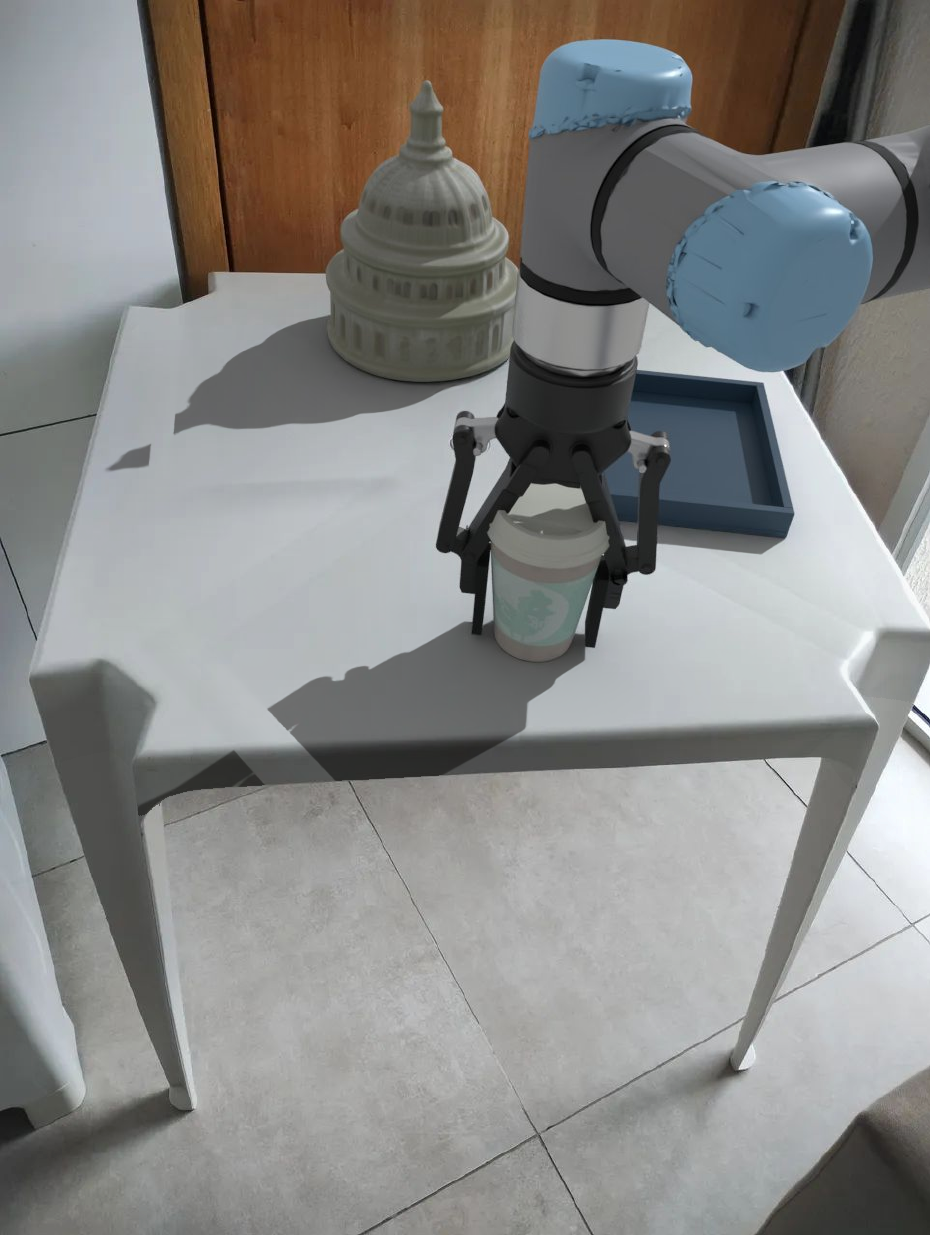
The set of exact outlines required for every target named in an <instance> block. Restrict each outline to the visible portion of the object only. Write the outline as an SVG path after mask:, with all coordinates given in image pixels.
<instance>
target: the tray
mask: <svg viewBox="0 0 930 1235" xmlns="http://www.w3.org/2000/svg"><path fill="white" fill-rule="evenodd" d="M766 391H767V390H766V387H765V383H764V382H763V381H750V380H741V379H731V378H721V377H713V376H712V377H711V376H701V375H692V374H683V373H675V372H673V373H671V372H664V371H653V370H643V369H637V371H636V376H635V381H634V386H633V391H632V396H631V402H630V407H629V412H628V417H627V419H628V422H629V424H630V427H631V431H634V432H638V433H641V434H645V435H648V436H651V435H652V434H653V433H654V432H656V431H664V432H666V433H667V434H668V436H669V444H670V455H671V461H670V464H669V466H668V468H667V470H666V472H665V474H664V476H663V478H662V480H661V482H660V490H659V510H658V525H659V526H660V525H661V526H670V527H679V528H690V529H698V530H707V531H708V530H709V531H716V532H724V533H725V532H726V533H735V534H745V535H752V536H753V535H754V536H763V537H764V536H765V537H773V538H782V539H787V537H788V534H789V531H790V528H791V525H792V523H793V520H794V517H795V509H794V506H793V505H794V504H793V501H792V498H791V493H790V489H789V485H788V480H787V476H786V472H785V467H784V463H783V458H782V454H781V451H780V447H779V442H778V438H777V434H776V430H775V425H774V421H773V417H772V412H771V409H770V405H769V400H768V395H767V392H766ZM605 476H606V481H607V484H608V487H609V491H610V494H611V497H612V501H613V504H614V508H615V511H616V514H617V518H618V521H622V522H632V523H637V521H638V488H639V471H638V470H637V469H635V468H634V466H633V460H632V455H631V454H630V453H629V452H626V453H625V454H623V455H622V456H621V457H620V458H619V459H618V460H616V461H615V462H614V463H613V464H612V465H611V466H610V467H608V468H607V469H606V470H605Z"/></svg>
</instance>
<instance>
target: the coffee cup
mask: <svg viewBox="0 0 930 1235" xmlns="http://www.w3.org/2000/svg"><path fill="white" fill-rule="evenodd" d="M489 526H490V529H489V531H488V532H487V533H488V536H489V538H490V539H491V541H490V546H491V551H490V567H491V568H490V569H491V570H490V571H491V588H492V590H491V591H492V592H491V593H492V611H493V612H492V615H493V634H494V639H495V640H496V642H497V644H498V646H499V647H500V648H501V649H502V650H503V651H504V652H505V653H507V654H508V655H510V656H512V657H514V658H517V659H518V660H522V661H526V662H534V663H535V662H536V663H541V662H542V663H543V662H548V661H552V660H555V659H557V658H559V657H562V655H564V654H565V653H566V652H567V651H568V650H569V648H570V647H571V644H572V642H573V639H574V636H575V633H576V630H577V628H578V625H579V622H580V619H581V616H582V614H583V611H584V608H585V605H586V602H587V600H588V596H589V595H590V592H591V588H592V583H593V579H594V577H595V574H596V571H597V568H598V565H599V562H600V559H601V556H602V555H604V553H605V552H606V550H607V549H608V548H609V546H610V545H609V543H608V540H609V536H608V535H607V531H606V524H605V521H598V522H597V523H595V522H593V519H592V516H591V513H590V509H589V506H588V504H586V502H585V499H584V495H583V492H582V489H581V486H580V489H578V488H568V487H565V486H562V485H559V484H547V485H540V484H532V483H531V484H530V486H529V487H528V489H527V490H526V492H525V493H524V495H523V496H522V497H519V499H518V500H517V502H516V503H515V505H514V506H513V508H512V509H511V511H510V512H509V513H506V512H505V511H504V510H498V512H497V514H496V516H495V518H494V520H493V522H492V523H491V524H489Z"/></svg>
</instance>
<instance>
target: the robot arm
mask: <svg viewBox="0 0 930 1235" xmlns="http://www.w3.org/2000/svg"><path fill="white" fill-rule="evenodd" d="M538 79H539V80H538V87H537V93H536V94H537V95H536V101H535V108H534V116H533V122H532V123H533V124H532V125H531V127H530V128H529V131H528V133H527V134H528V136H527V138H528V139H529V141H528V142H529V143H528V144H529V145H528V157H527V167H526V179H525V191H524V202H523V203H524V204H523V215H522V226H521V227H522V228H521V241H520V250H519V251H520V252H519V256H520V259H519V267H518V275H517V286H516V296H515V306H514V317H513V327H512V333H513V338H514V341H513V343H512V345H511V349H510V357H509V358H508V359H509V360H508V369H507V380H506V388H505V389H506V390H505V399H504V400H505V401H504V404H503V405H502V407H501V408H500V409H499V410H498V412H497V414H496V416H490V417H475V415H474V414H473V412H471V411H469V410H461V411H460V412H459V413H457V415H456V417H455V423H454V427H453V432H452V438H451V439H452V440H451V441H452V448H453V452H454V458H455V461H454V465H453V469H452V473H451V477H450V481H449V484H448V489H447V493H446V497H445V501H444V506H443V509H442V513H441V517H440V521H439V526H438V531H437V535H436V536H437V537H436V540H435V541H436V542H435V549H436V551H438V552H439V553H441V554H449V553H453V554H456V555H457V556H458V557H459V558H460V574H459V586H458V587H459V590H460V592H461V594H470V595H474V599H473V610H472V622H471V632H470V633H471V635H474V636H482V635H483V626H484V619H485V610H486V601H487V590H488V581H489V570H490V562H491V546H490V541H491V539H490V538H489V536H488V533H487V532H488V531H489V529H490V526H489V524H491V523H492V522H493V520H494V518H495V516H496V514H497V512H498V510H504V511H505V512H506V513H509V512H510V511H511V509H512V508H513V506H514V505H515V503H516V502H517V500H518V499H519V497H522V496H523V495H524V493H525V492H526V490H527V489H528V487H529V486H530V484H531V483H532V484H540V485H547V484H559V485H562V486H565V487H568V488H578V489H580V486H581V489H582V492H583V495H584V499H585V502H586V504H588V506H589V509H590V513H591V516H592V519H593V522H595V523H597V522H598V521H605V524H606V531H607V535H608V536H609V540H608V543H609V545H610V546H609V548H608V549H607V550H606V552H605V553H604V554H603V555H602V556H601V559H600V562H599V565H598V568H597V571H596V574H595V577H594V579H593V582H592V585H591V588H590V592H589V595H590V596H589V598H588V604H587V610H586V614H585V619H584V648H591V649H596V645H597V641H598V635H599V631H600V625H601V620H602V616H603V611H604V609H609V610H616V609H617V608H618V607H619V605H620V604H621V599H622V594H623V590H624V586H625V585H626V584H627V583H628V582H629V581H628V580H629V579H628V576H629V575H630V574H633V573H638V572H639V574H641V575H644V576H645V575H646V576H648V575H652V574H653V573H654V572H655V571H656V568H657V551H658V550H657V549H658V531H659V530H658V529H659V526H658V525H659V524H658V510H659V490H660V482H661V480H662V478H663V476H664V474H665V472H666V470H667V468H668V466H669V464H670V461H671V455H670V444H669V436H668V434H667V433H666V432H664V431H656V432H654V433H653V434H652V435H651V436H648V435H645V434H641V433H638V432H634V431H631V427H630V424H629V422H628V419H627V417H628V412H629V407H630V402H631V396H632V391H633V386H634V381H635V376H636V371H637V370H638V366H639V360H638V357H637V355H639V353H640V351H641V349H642V346H643V341H644V335H645V330H646V324H647V320H648V313H649V309H650V305H651V306H653V307H654V308H655V309H657V310H658V311H659V312H661V313H662V314H663V315H665V316H666V317H667V318H668V319H669V320H671V321H672V322H674V323H675V324H676V325H677V326H678V327H679V328H680V329H681V330H682V331H683V332H684V333H686V334H687V336H689V337H690V339H692V340H694V342H698V343H699V344H700V345H701V346H703V347H704V348H712V349H714V350H715V351H716V352H718V353H721V354H722V355H724V356H725V357H727V358H728V359H730V360H732V361H733V362H735V363H738V364H739V365H741V366H743V367H744V368H747V369H749V370H751V371H755V372H759V373H779V372H785V371H788V370H791V369H794V368H797V367H800V366H801V365H804V364H805V363H806V362H807V361H808V360H809V359H810V357H811V356H812V354H813V353H814V351H815V350H816V349H819V348H826V347H828V346H829V345H831V344H832V342H834V341H835V340H836V339H837V338H838V337H839V336H840V335H841V333H842V332H843V331H844V330H845V328H847V326H848V324H849V323H850V321H851V320H852V319H853V317H854V316H855V315H856V312H857V310H858V309H859V307H860V305H864V304H867V303H870V302H872V301H876V300H882V299H886V298H891V297H896V296H901V295H907V294H910V293H915V292H920V291H923V290H928V289H930V124H928V125H925V126H922V127H920V128H917V129H913V130H909V131H905V132H901V133H895V134H892V135H885V136H880V137H876V138H870V139H865V140H861V139H860V140H852V141H845V142H840V143H833V144H827V145H820V146H813V147H806V148H799V149H793V150H786V151H781V152H773V153H768V154H758V155H757V154H749V153H748V154H747V153H743V152H740V151H737V150H736V149H733V148H731V147H728V146H726V145H724V144H722V143H720V142H718V141H716V140H714V139H712V138H710V137H708V136H707V135H704V134H703V133H701V132H700V131H699V130H698V129H697V128H694V127H692V126H690V125H688V124H687V121H688V118H689V116H691V115H690V114H691V112H692V111H693V108H692V105H691V100H692V87H693V74H692V70H691V68H690V67H689V66H688V64H687V63H686V60H684V59H683V57H682V56H680V55H679V54H678V53H675V52H673V51H671V50H669V49H666V48H664V47H660V46H657V45H653V44H649V43H643V42H639V41H631V40H623V39H622V40H621V39H608V38H607V39H606V38H604V39H603V38H602V39H601V38H600V39H586V40H577V41H572V42H569V43H565V44H562V45H560V46H559V47H557V48H556V49H554V50H553V51H552V52H551V53H549V54H548V55H547V57H546V59H545V60H544V62H543V64H542V65H541V69H540V73H539V78H538ZM495 439H496V440H497V441H498V443H499V444H500V446H501V448H503V450H504V451H505V453H506V454H507V455H508V457H509V459H508V461H507V464H506V466H505V468H504V470H503V472H502V473H501V474H500V476H499V478H498V479H497V481H496V483H495V484H494V486H493V487H492V489H491V491H490V492H489V494H488V495H487V497H486V499H485V500H484V502H483V503H482V505H481V506H480V508H479V510H478V512H476V514H475V516H474V517H473V519H472V521H471V522H470V524H469V525H468V524H466V526H465V528H463V527H461V526H460V524H461V520H462V516H463V513H464V509H465V505H466V500H467V498H468V494H469V490H470V487H471V481H472V478H473V475H474V471H475V465H476V460H477V459H476V458H477V457H479V456H481V455H482V454H483V453H485V452H486V451H487V449H488V446H489V445H488V444H489V442H491V441H492V440H495ZM626 452H629V453H630V454H631V455H632V460H633V466H634V468H635V469H637V470H638V471H639V488H638V521H637V522H636V523H637V525H636V526H637V527H636V544H633V545H628V546H627V545H626V542H625V539H624V535H623V531H622V528H621V525H620V522H619V521H620V520H618V518H617V514H616V511H615V508H614V504H613V501H612V497H611V494H610V491H609V487H608V484H607V481H606V476H605V470H606V469H607V468H608V467H610V466H611V465H612V464H613V463H614V462H615V461H616V460H618V459H619V458H620V457H621V456H622V455H623V454H625V453H626Z"/></svg>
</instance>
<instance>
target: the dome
mask: <svg viewBox="0 0 930 1235" xmlns="http://www.w3.org/2000/svg"><path fill="white" fill-rule="evenodd" d="M408 109H409V112H410V133H409V135H408V136H407V138H406V142H405V143H403V144H402V145H400V147H399V152H398V154H396V155H394V156H391V157H390V158H387V159H386V160H384V161H383V162H382V163H380V164H379V165H378V166H377V167H376V168H375V169H374V171H373V172H372V173H371V174H370V176H369V178H368V179H367V181H366V183H365V185H364V187H363V189H362V192H361V195H360V199H359V201H358V202H359V203H358V207H357V208H356V209H354V210H353V211H352V212H350V213H349V214H348V215H346V216H345V217H344V219H343V221H341V222H342V223H341V225H340V240H341V244H342V245H343V248H342V249H340V250H339V251H338V252H337V253H336V254H334V255H333V256H332V257H331V259H330V260H329V262H328V263H327V266H326V268H325V282H326V286H327V288H328V290H329V293H330V294H329V295H330V296H329V297H330V299H329V300H330V316H329V318H328V319H327V323H326V333H327V338H328V341H329V344H330V345H331V347H332V349H333V350H334V352H335V353H336V354H337V355H338V356H339V357H341V359H342V360H344V361H345V362H347V363H348V364H350V365H351V366H353V367H354V368H357V369H359V370H361V371H363V372H366V373H368V374H371V375H373V376H377V377H381V378H384V379H389V380H396V381H403V382H415V383H433V382H444V381H454V380H455V381H456V380H459V379H465V378H468V377H469V378H470V377H473V376H478V375H479V374H482V373H484V372H488V371H490V370H492V369H495V368H496V367H498V366H500V365H502V364H504V362H506V361H507V360H508V359H509V358H510V349H511V345H512V343H513V341H514V338H513V333H512V327H513V317H514V306H515V296H516V286H517V275H518V269H519V267H517V265H516V264H515V263H514V262H513V261H511V259H509V258H508V257H506V255H507V253H508V250H509V244H510V243H509V242H510V241H509V240H510V234H509V232H508V230H507V228H506V227H505V225H504V224H503V223H502V222H500V221H499V220H498V219H496V217H494V216H493V211H492V206H491V202H490V198H489V195H488V192H487V190H486V188H485V186H484V184H483V182H482V180H481V178H480V176H479V175H478V173H477V172H476V171H475V170H474V169H473V167H471V166H470V165H468V164H467V163H465V162H463V161H460V160H459V159H458V158H456V157H453V151H452V149H451V148H450V147H449V146H446V144H447V142H446V139H445V138H444V137H443V113H444V106H443V105H442V104H441V103H440V101H439V99H438V97H437V95H436V94H435V91H434V87H433V84H432V82H431V81H430V80H424V81H423V82H422V83H421V87H420V90H419V92H418V94H416V97H415V98H414V100H412V101H411V102H410V103H409V106H408Z"/></svg>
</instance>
